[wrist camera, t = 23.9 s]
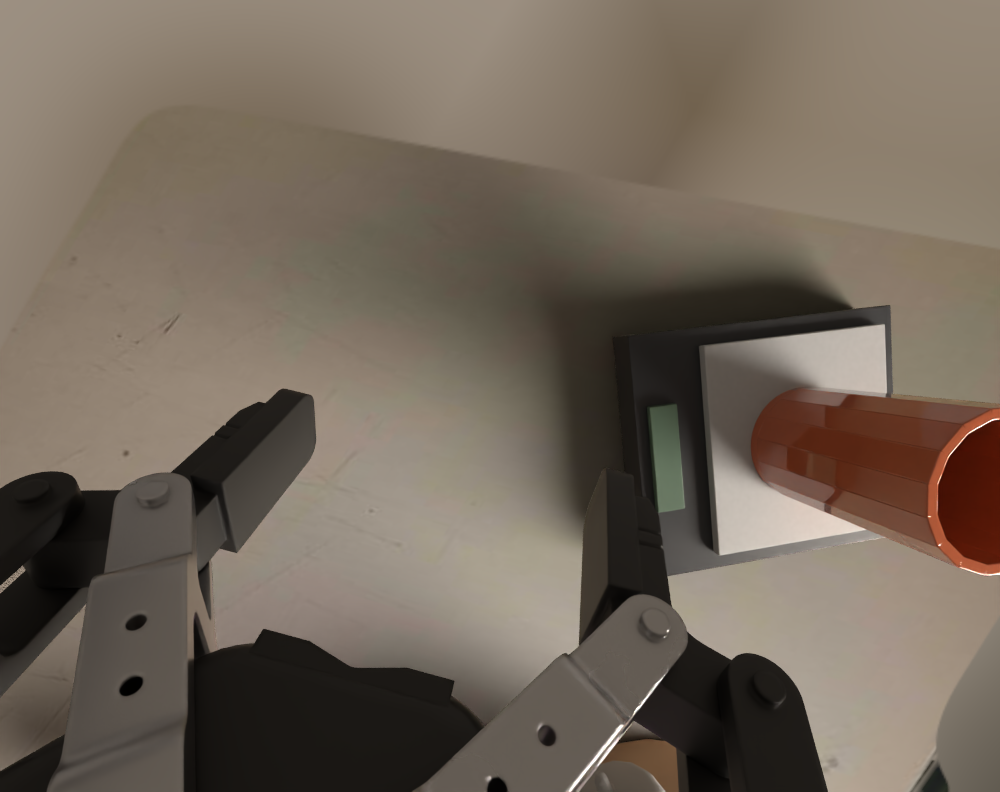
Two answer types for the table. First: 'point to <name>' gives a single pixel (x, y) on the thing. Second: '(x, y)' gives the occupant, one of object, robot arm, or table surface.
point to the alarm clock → (636, 768)
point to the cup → (890, 467)
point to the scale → (736, 427)
